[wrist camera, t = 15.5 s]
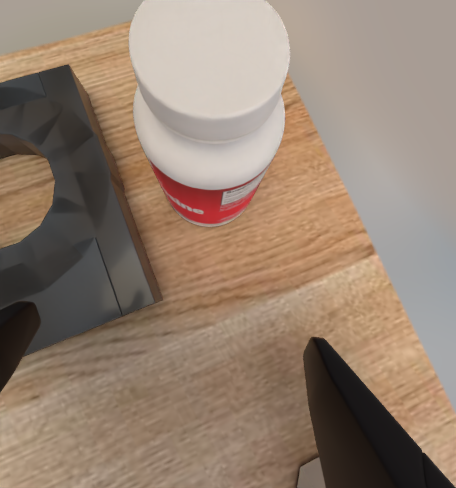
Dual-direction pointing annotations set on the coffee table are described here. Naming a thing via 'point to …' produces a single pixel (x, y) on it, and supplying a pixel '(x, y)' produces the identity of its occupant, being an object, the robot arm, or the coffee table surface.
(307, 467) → the flask
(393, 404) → the coffee table surface
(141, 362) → the coffee table surface
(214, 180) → the pill bottle
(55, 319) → the board
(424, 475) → the robot arm
